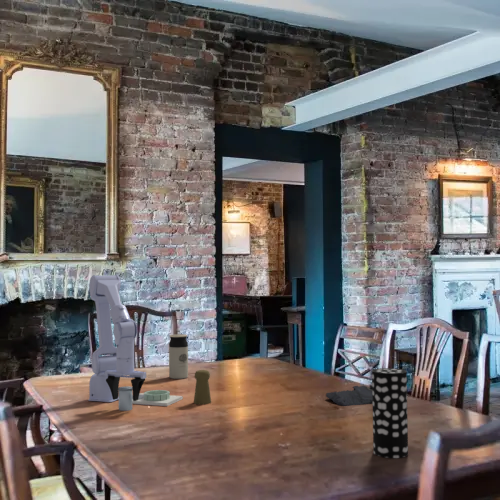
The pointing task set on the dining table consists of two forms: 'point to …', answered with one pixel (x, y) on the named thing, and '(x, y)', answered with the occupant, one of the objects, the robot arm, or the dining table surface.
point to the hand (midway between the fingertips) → (125, 399)
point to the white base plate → (157, 398)
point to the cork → (202, 387)
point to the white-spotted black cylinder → (390, 412)
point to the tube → (125, 398)
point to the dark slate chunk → (352, 396)
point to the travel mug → (178, 356)
